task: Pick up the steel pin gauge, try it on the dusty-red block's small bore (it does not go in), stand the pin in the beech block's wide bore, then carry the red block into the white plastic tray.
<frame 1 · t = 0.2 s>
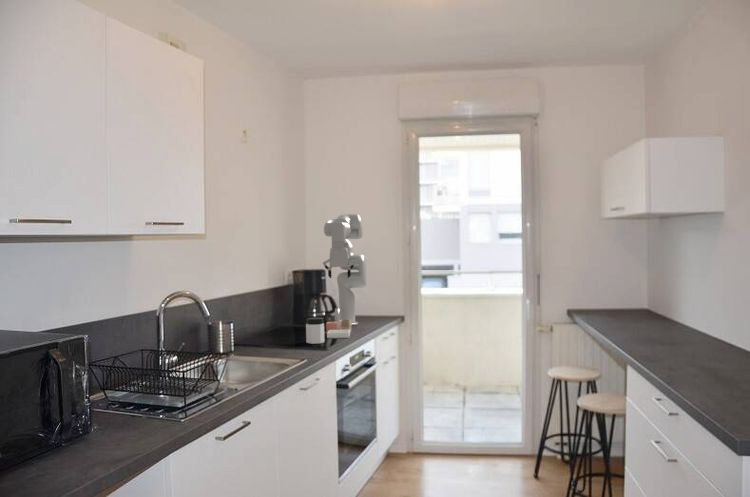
hand: (339, 277, 317), 31 cm above the countertop, tool pointing down, fingers open, 9 cm apart
red block small bore: (332, 333, 326), on the countertop
tray: (338, 336, 315), on the countertop
beech block wide bore: (345, 331, 333), on the countertop
jar: (315, 342, 297), on the countertop
pin gauge: (337, 329, 341), on the countertop
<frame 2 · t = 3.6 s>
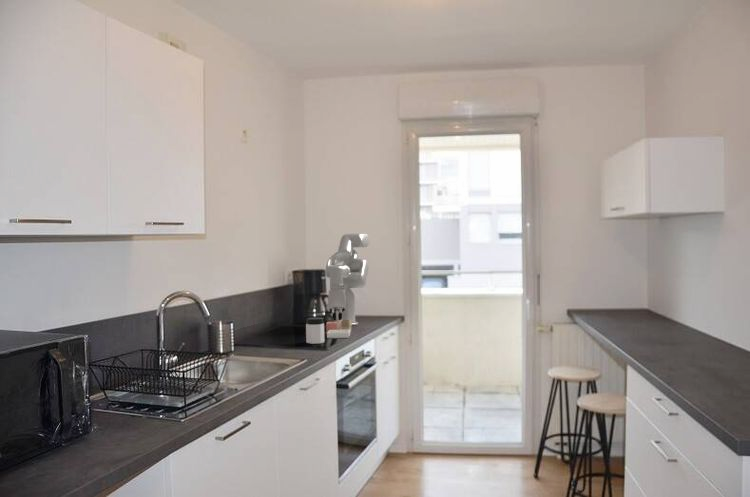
hand: (337, 319, 341), 6 cm above the countertop, tool pointing down, fingers closed on pin gauge, 2 cm apart
pin gauge: (337, 329, 341), on the countertop, touching gripper
everything else where it was.
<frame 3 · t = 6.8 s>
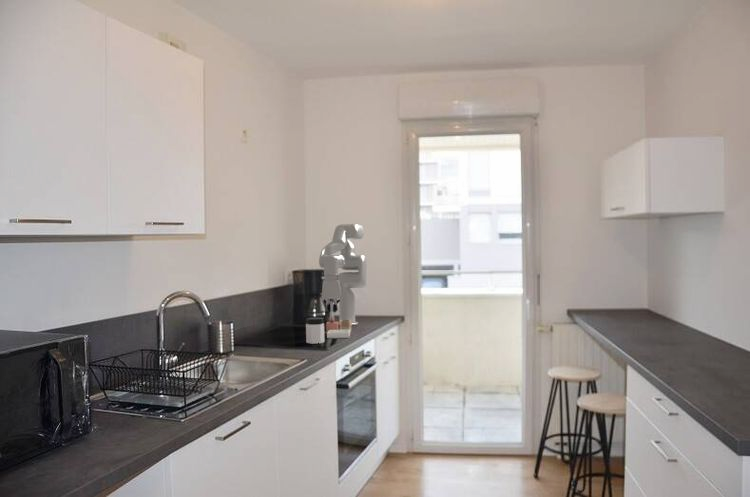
hand: (332, 311, 326), 12 cm above the countertop, tool pointing down, fingers closed on pin gauge, 2 cm apart
pin gauge: (332, 321, 326), point 6 cm above the countertop, touching gripper
everything else where it was.
when the fingers open (7 cm above the countertop, at t = 10.2 s): pin gauge drops 2 cm, resting in beech block wide bore.
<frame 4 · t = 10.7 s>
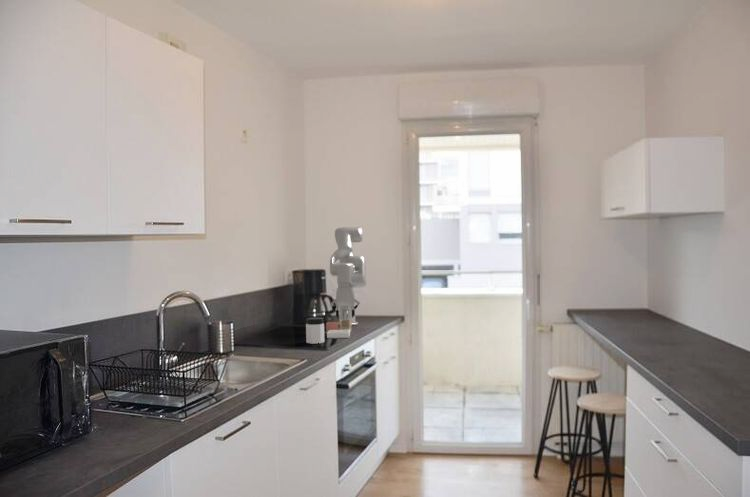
hand: (345, 317, 333), 8 cm above the countertop, tool pointing down, fingers open, 7 cm apart
pin gauge: (345, 331, 333), resting in beech block wide bore
everything else where it was.
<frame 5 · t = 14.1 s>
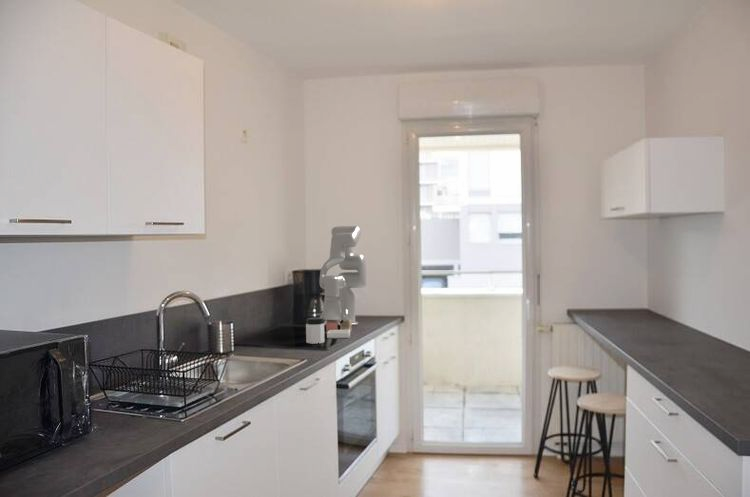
hand: (332, 331, 326), 1 cm above the countertop, tool pointing down, fingers closed on red block small bore, 6 cm apart
red block small bore: (332, 333, 326), on the countertop, touching gripper
everything else where it was.
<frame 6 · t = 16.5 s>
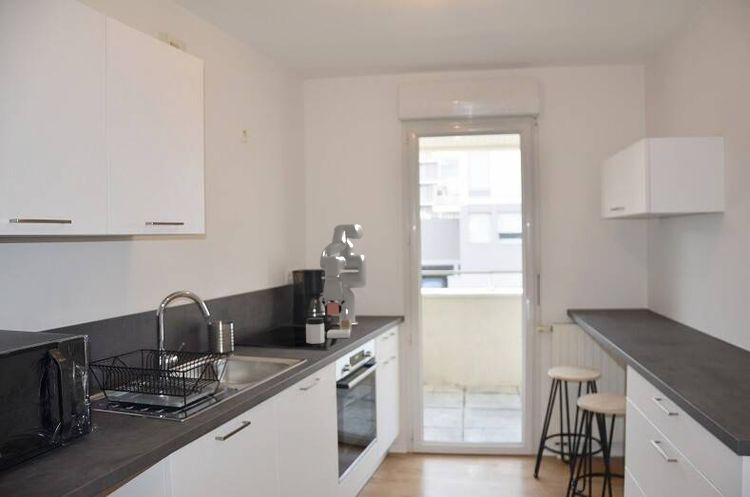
hand: (333, 312, 323), 12 cm above the countertop, tool pointing down, fingers closed on red block small bore, 6 cm apart
red block small bore: (333, 314, 323), point 11 cm above the countertop, touching gripper
everything else where it was.
when the fingers open (3 cm above the countertop, at t = 18.7 s): red block small bore drops 2 cm, resting on tray.
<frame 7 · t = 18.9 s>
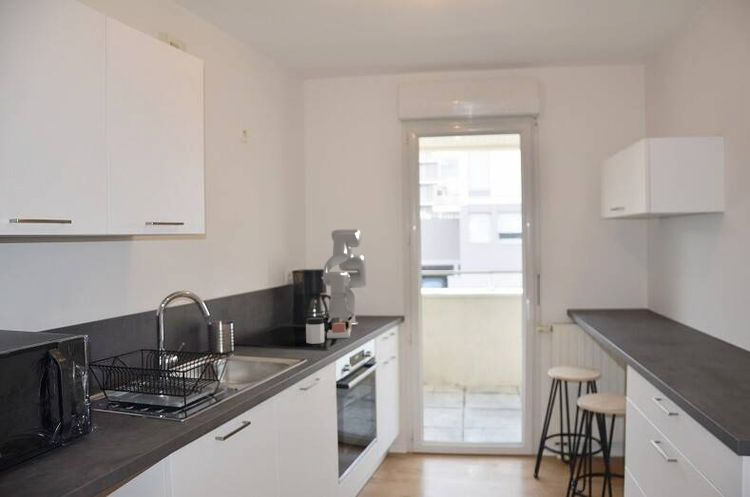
hand: (338, 329, 315), 4 cm above the countertop, tool pointing down, fingers open, 8 cm apart
red block small bore: (338, 335, 315), point 1 cm above the countertop, touching tray
everything else where it was.
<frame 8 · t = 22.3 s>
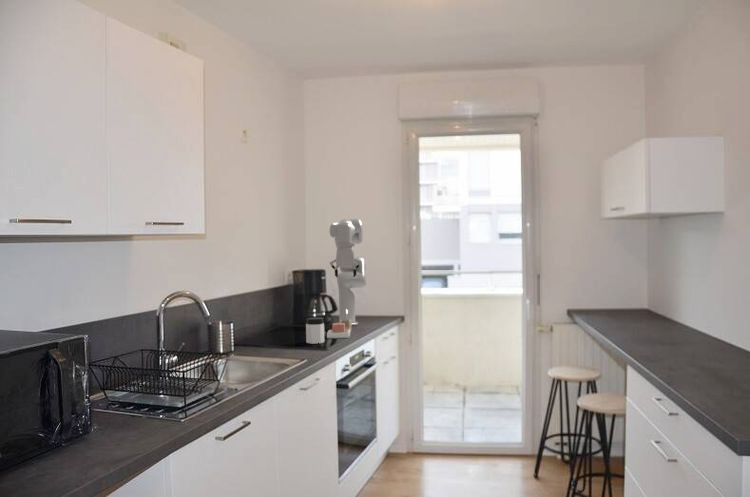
hand: (345, 277, 332), 30 cm above the countertop, tool pointing down, fingers open, 9 cm apart
nothing on the countertop moved.
at the end: red block small bore inside the target area on the tray (0.1 cm from its centre), point 0.6 cm above the tray's base; the gripper is holding nothing; pin gauge 0.0 cm from the beech block wide bore (horizontally) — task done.
